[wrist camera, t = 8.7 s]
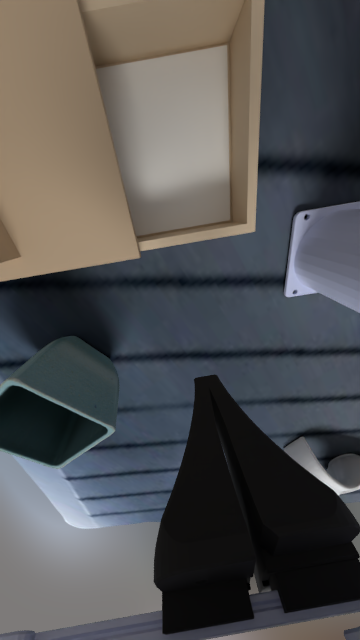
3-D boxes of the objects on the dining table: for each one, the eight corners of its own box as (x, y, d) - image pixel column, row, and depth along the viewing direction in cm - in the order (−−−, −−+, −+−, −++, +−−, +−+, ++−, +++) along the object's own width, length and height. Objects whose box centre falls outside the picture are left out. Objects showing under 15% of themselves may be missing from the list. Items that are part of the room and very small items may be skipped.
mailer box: (235, 32, 12) (266, -46, 8) (236, 228, 17) (255, 231, 14) (-18, 78, 12) (-94, 21, 8) (62, 258, 17) (36, 269, 14)
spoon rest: (381, 453, 41) (421, 496, 35) (336, 477, 45) (363, 519, 39) (314, 423, 34) (348, 471, 27) (267, 456, 38) (287, 503, 32)
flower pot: (89, 394, 26) (57, 472, 18) (26, 359, 22) (-50, 437, 14) (133, 359, 23) (117, 431, 16) (69, 313, 20) (7, 376, 12)
